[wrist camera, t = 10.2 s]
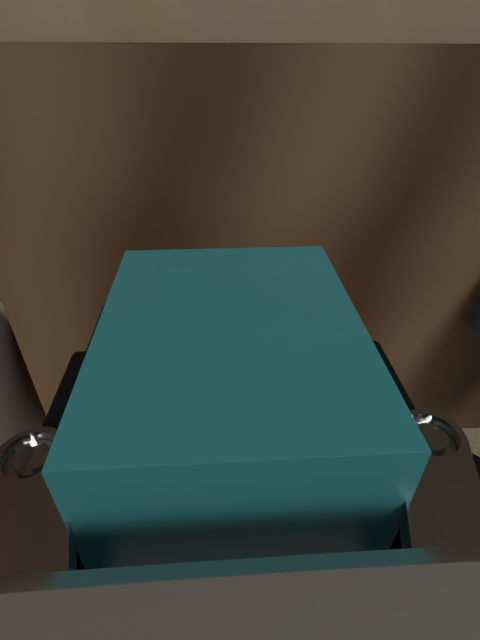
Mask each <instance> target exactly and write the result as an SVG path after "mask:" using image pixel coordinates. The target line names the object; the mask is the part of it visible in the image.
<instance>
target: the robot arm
mask: <svg viewBox="0 0 480 640" xmlns="http://www.w3.org/2000/svg"><path fill="white" fill-rule="evenodd" d="M104 306H105V304H104V305H103V308H104ZM103 308H102V310H101V313H102V311H103ZM101 313H100V315H99V318H98V321H99V319H100V316H101ZM98 321H97V323H96V326H95V328H94V331H93V334H92V336H91V339H90V341H89V344H88V347H87V349H86V351H79V352H75V353H73V355H72V357H71V359H70V361H69V364H68V366H67V368H66V371H65V373H64V375H63V378H62V380H61V383H60V385H59V387H58V390H57V392H56V394H55V397H54V399H53V402H52V404H51V406H50V409H49V411H48V413H47V416H46V418H45V421H44V423H43V426H42V427H34V428H30V429H27V430H24V431H22V432H20V433H18V434H16V435H14V436H12V437H11V438H9V439H8V440H7V441H6V442H5V443H4V444H2V445H1V446H0V640H480V457H478V456H476V455H474V454H472V452H471V449H470V445H469V442H468V439H467V437H466V435H465V433H464V431H463V430H462V429H461V428H460V427H459V426H458V425H457V423H455V422H454V421H452V420H451V419H450V418H448V417H447V416H444V415H442V414H440V413H438V412H435V411H431V410H427V409H415V407H414V405H413V403H412V401H411V400H410V398H409V396H408V394H407V392H406V390H405V389H404V387H403V385H402V383H401V381H400V380H399V378H398V376H397V374H396V372H395V370H394V369H393V367H392V365H391V363H390V361H389V359H388V358H387V356H386V354H385V352H384V350H383V349H382V347H381V345H380V344H379V342H377V341H373V343H374V344H375V346H376V348H377V350H378V352H379V354H380V356H381V358H382V359H383V361H384V363H385V365H386V367H387V369H388V371H389V373H390V374H391V376H392V378H393V380H394V382H395V384H396V386H397V388H398V389H399V391H400V393H401V395H402V397H403V399H404V401H405V403H406V405H407V406H408V408H409V410H410V412H411V414H412V416H413V418H414V420H415V421H416V423H417V425H418V427H419V429H420V431H421V433H422V435H423V436H424V438H425V440H426V442H427V444H428V446H429V448H430V450H431V451H432V453H431V455H430V458H429V460H428V462H427V465H426V467H425V469H424V472H423V474H422V476H421V479H420V481H419V483H418V486H417V488H416V490H415V493H414V495H413V497H412V500H411V501H406V502H405V505H404V507H403V509H402V512H401V514H400V517H399V530H398V532H397V534H396V537H395V539H394V541H393V544H392V546H391V548H390V550H374V551H357V552H340V553H324V554H308V555H292V556H277V557H261V558H246V559H231V560H216V561H201V562H185V563H171V564H156V565H142V566H128V567H114V568H100V569H85V568H84V566H83V564H82V561H81V559H80V557H79V555H78V553H77V550H76V537H75V535H74V533H73V530H72V528H71V526H70V524H69V521H63V520H62V517H61V515H60V513H59V511H58V509H57V506H56V504H55V502H54V500H53V498H52V495H51V493H50V491H49V489H48V487H47V484H46V482H45V480H44V478H43V476H42V473H41V472H42V469H43V466H44V464H45V461H46V458H47V456H48V453H49V450H50V448H51V445H52V443H53V440H54V437H55V435H56V432H57V429H58V427H59V424H60V421H61V419H62V416H63V414H64V411H65V408H66V406H67V403H68V400H69V398H70V395H71V392H72V390H73V387H74V385H75V382H76V379H77V377H78V374H79V371H80V369H81V366H82V364H83V361H84V358H85V356H86V353H87V350H88V348H89V345H90V342H91V340H92V337H93V335H94V332H95V329H96V327H97V324H98Z"/></svg>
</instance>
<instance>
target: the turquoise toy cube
mask: <svg viewBox="0 0 480 640" xmlns="http://www.w3.org/2000/svg"><path fill="white" fill-rule="evenodd" d="M431 453H432V451H431V450H430V448H429V446H428V444H427V442H426V440H425V438H424V436H423V435H422V433H421V431H420V429H419V427H418V425H417V423H416V421H415V420H414V418H413V416H412V414H411V412H410V410H409V408H408V406H407V405H406V403H405V401H404V399H403V397H402V395H401V393H400V391H399V389H398V388H397V386H396V384H395V382H394V380H393V378H392V376H391V374H390V373H389V371H388V369H387V367H386V365H385V363H384V361H383V359H382V358H381V356H380V354H379V352H378V350H377V348H376V346H375V344H374V343H373V341H372V339H371V337H370V335H369V333H368V331H367V329H366V328H365V326H364V324H363V322H362V320H361V318H360V316H359V314H358V313H357V311H356V309H355V307H354V305H353V303H352V301H351V299H350V298H349V296H348V294H347V292H346V290H345V288H344V286H343V284H342V282H341V281H340V279H339V277H338V275H337V273H336V271H335V269H334V267H333V266H332V264H331V262H330V260H329V258H328V256H327V254H326V252H325V251H324V249H323V247H322V246H299V247H257V248H215V249H173V250H131V251H125V253H124V256H123V258H122V261H121V263H120V266H119V269H118V271H117V274H116V277H115V279H114V282H113V285H112V287H111V290H110V292H109V295H108V298H107V300H106V303H105V306H104V308H103V311H102V313H101V316H100V319H99V321H98V324H97V327H96V329H95V332H94V335H93V337H92V340H91V342H90V345H89V348H88V350H87V353H86V356H85V358H84V361H83V364H82V366H81V369H80V371H79V374H78V377H77V379H76V382H75V385H74V387H73V390H72V392H71V395H70V398H69V400H68V403H67V406H66V408H65V411H64V414H63V416H62V419H61V421H60V424H59V427H58V429H57V432H56V435H55V437H54V440H53V443H52V445H51V448H50V450H49V453H48V456H47V458H46V461H45V464H44V466H43V469H42V472H41V473H42V476H43V478H44V480H45V482H46V484H47V487H48V489H49V491H50V493H51V495H52V498H53V500H54V502H55V504H56V506H57V509H58V511H59V513H60V515H61V517H62V520H63V521H69V524H70V526H71V528H72V530H73V533H74V535H75V537H76V550H77V553H78V555H79V557H80V559H81V561H82V564H83V566H84V568H85V569H100V568H114V567H128V566H142V565H156V564H171V563H185V562H201V561H216V560H231V559H246V558H261V557H277V556H292V555H308V554H324V553H340V552H357V551H374V550H390V548H391V546H392V544H393V541H394V539H395V537H396V534H397V532H398V530H399V517H400V514H401V512H402V509H403V507H404V505H405V502H406V501H411V500H412V497H413V495H414V493H415V490H416V488H417V486H418V483H419V481H420V479H421V476H422V474H423V472H424V469H425V467H426V465H427V462H428V460H429V458H430V455H431Z"/></svg>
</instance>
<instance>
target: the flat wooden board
mask: <svg viewBox="0 0 480 640" xmlns="http://www.w3.org/2000/svg"><path fill="white" fill-rule="evenodd" d="M299 246H322V247H323V249H324V251H325V252H326V254H327V256H328V258H329V260H330V262H331V264H332V266H333V267H334V269H335V271H336V273H337V275H338V277H339V279H340V281H341V282H342V284H343V286H344V288H345V290H346V292H347V294H348V296H349V298H350V299H351V301H352V303H353V305H354V307H355V309H356V311H357V313H358V314H359V316H360V318H361V320H362V322H363V324H364V326H365V328H366V329H367V331H368V333H369V335H370V337H371V339H372V341H377V342H379V344H380V345H381V347H382V349H383V350H384V352H385V354H386V356H387V358H388V359H389V361H390V363H391V365H392V367H393V369H394V370H395V372H396V374H397V376H398V378H399V380H400V381H401V383H402V385H403V387H404V389H405V390H406V392H407V394H408V396H409V398H410V400H411V401H412V403H413V405H414V407H415V409H427V410H431V411H435V412H438V413H440V414H442V415H444V416H447V417H448V418H450V419H451V420H452V421H454V422H455V423H457V425H458V426H459V427H460V428H477V427H480V44H333V43H12V42H0V299H1V302H2V304H3V307H4V309H5V312H6V314H7V317H8V319H9V322H10V325H11V327H12V330H13V332H14V335H15V337H16V340H17V342H18V345H19V347H20V350H21V353H22V355H23V358H24V360H25V363H26V365H27V368H28V371H29V373H30V376H31V378H32V381H33V383H34V386H35V388H36V391H37V393H38V396H39V398H40V401H41V404H42V406H43V409H44V411H45V414H46V416H47V413H48V411H49V409H50V406H51V404H52V402H53V399H54V397H55V394H56V392H57V390H58V387H59V385H60V383H61V380H62V378H63V375H64V373H65V371H66V368H67V366H68V364H69V361H70V359H71V357H72V355H73V353H75V352H79V351H86V349H87V347H88V344H89V341H90V339H91V336H92V334H93V331H94V328H95V326H96V323H97V321H98V318H99V315H100V313H101V310H102V308H103V305H104V304H105V303H106V300H107V298H108V295H109V292H110V290H111V287H112V285H113V282H114V279H115V277H116V274H117V271H118V269H119V266H120V263H121V261H122V258H123V256H124V253H125V251H131V250H173V249H215V248H257V247H299Z"/></svg>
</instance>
